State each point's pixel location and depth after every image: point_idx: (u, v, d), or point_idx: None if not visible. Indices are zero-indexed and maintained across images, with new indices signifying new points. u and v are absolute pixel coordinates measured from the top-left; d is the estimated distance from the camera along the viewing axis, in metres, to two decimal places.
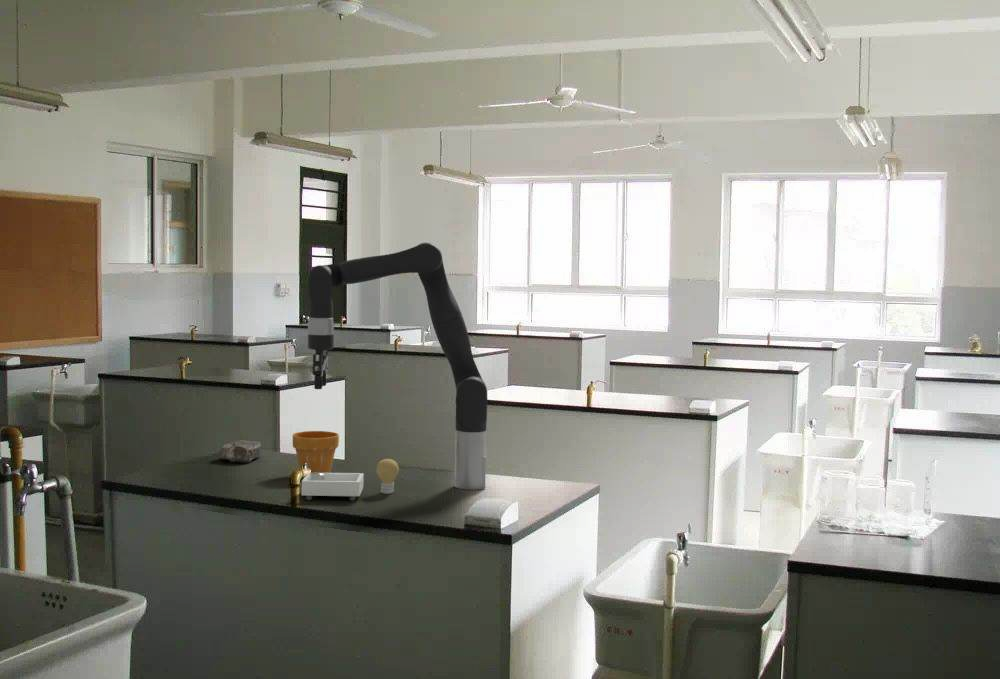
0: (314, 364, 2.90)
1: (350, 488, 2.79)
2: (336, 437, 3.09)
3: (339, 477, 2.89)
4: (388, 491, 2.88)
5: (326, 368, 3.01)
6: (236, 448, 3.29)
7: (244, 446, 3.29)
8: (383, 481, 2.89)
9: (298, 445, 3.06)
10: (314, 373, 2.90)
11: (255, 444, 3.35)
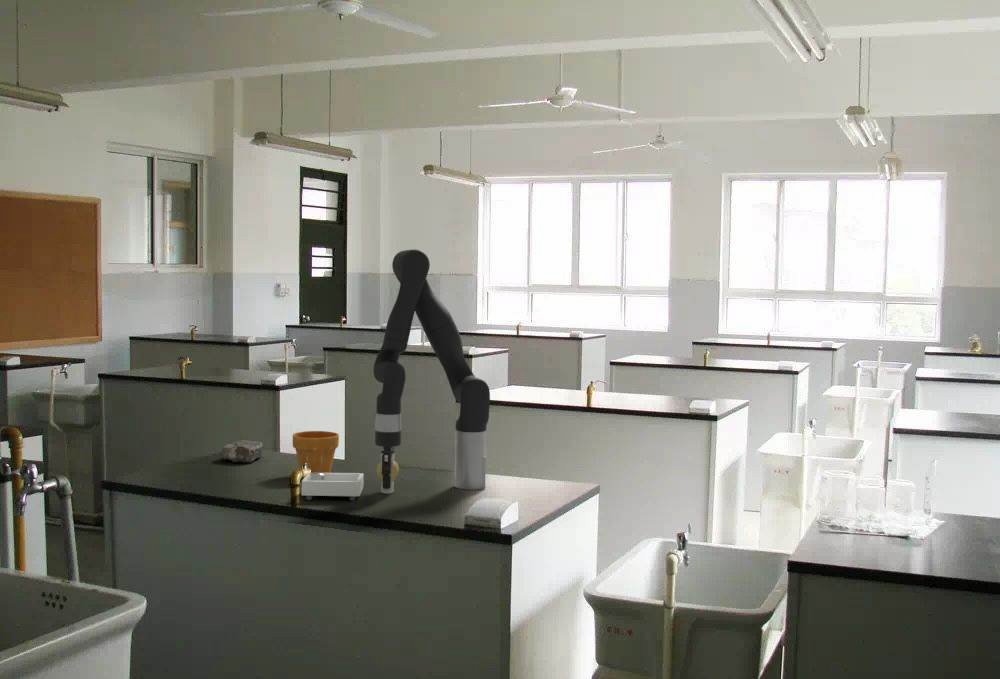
0: (383, 465, 2.83)
1: (350, 488, 2.79)
2: (336, 437, 3.09)
3: (339, 477, 2.89)
4: (388, 491, 2.88)
5: None
6: (238, 448, 3.28)
7: (246, 446, 3.29)
8: None
9: (298, 445, 3.06)
10: (383, 473, 2.84)
11: (257, 444, 3.35)
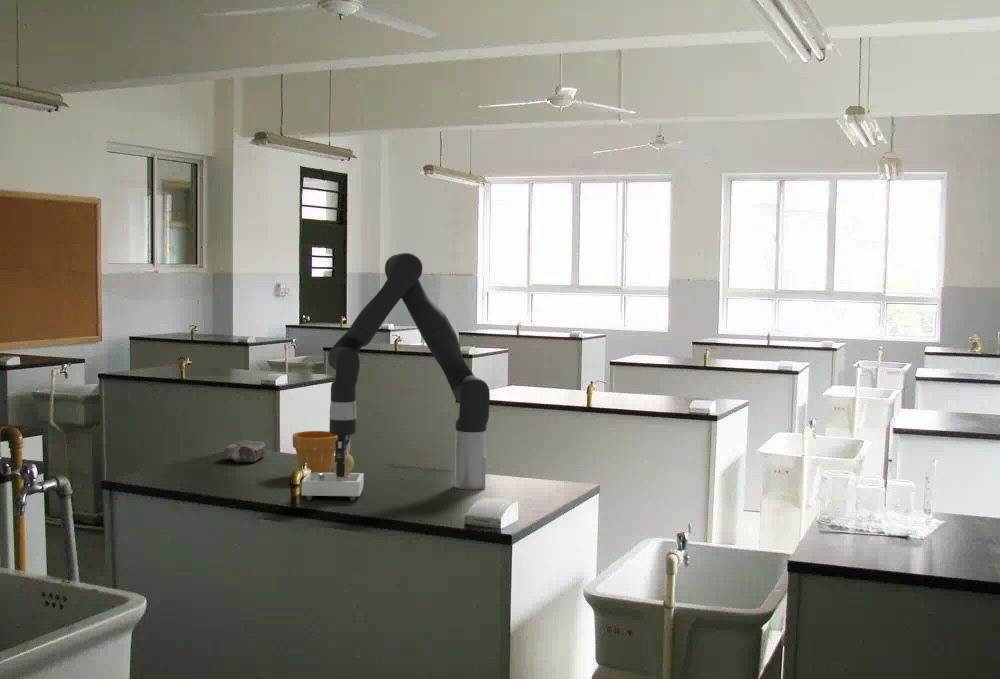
0: (336, 451, 2.77)
1: (350, 488, 2.79)
2: (336, 437, 3.09)
3: None
4: None
5: (348, 452, 2.88)
6: (241, 448, 3.28)
7: (249, 446, 3.29)
8: None
9: (298, 445, 3.06)
10: (336, 461, 2.77)
11: (259, 444, 3.35)
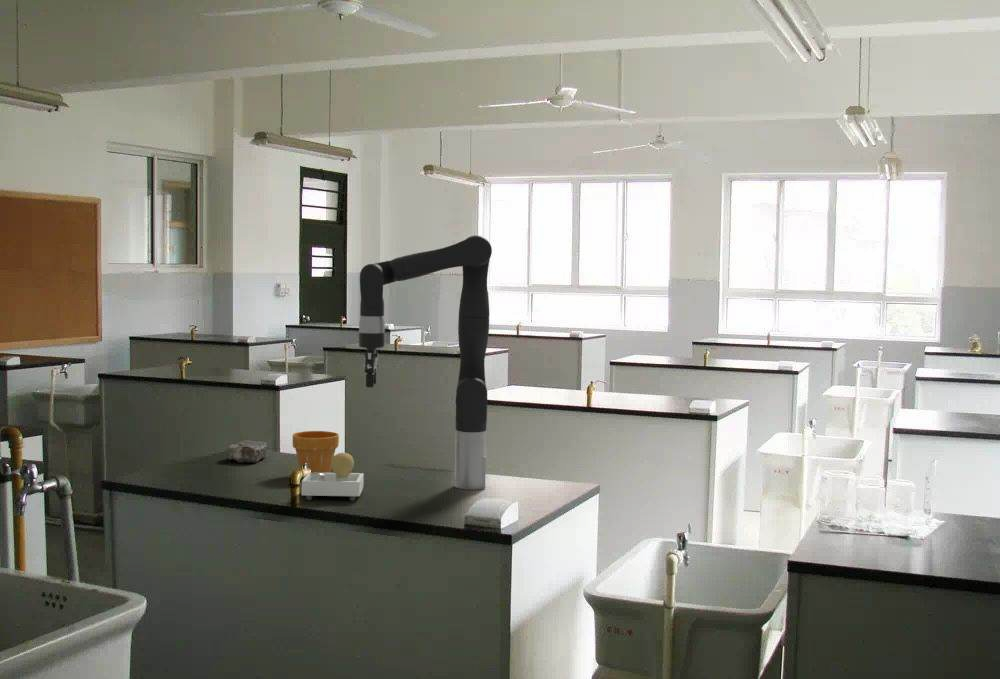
0: (366, 362, 2.90)
1: (350, 488, 2.79)
2: (336, 437, 3.09)
3: None
4: None
5: (376, 366, 3.02)
6: (243, 448, 3.28)
7: (251, 446, 3.29)
8: (338, 475, 2.83)
9: (298, 445, 3.06)
10: (366, 371, 2.91)
11: (261, 444, 3.35)
